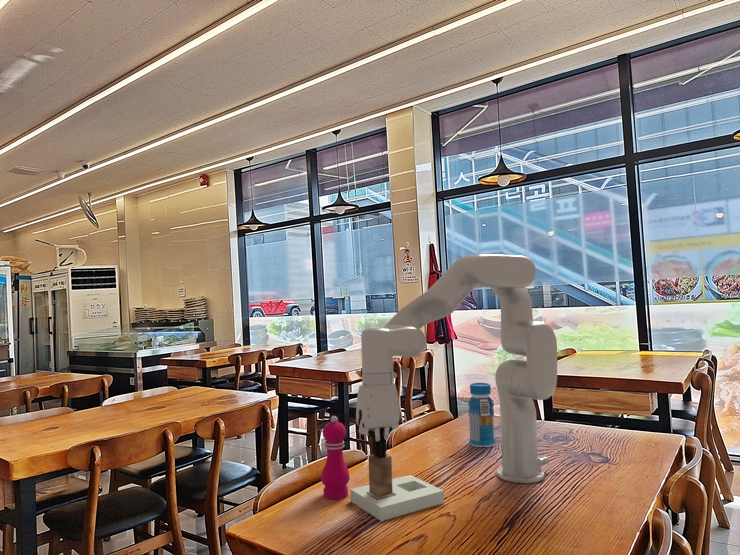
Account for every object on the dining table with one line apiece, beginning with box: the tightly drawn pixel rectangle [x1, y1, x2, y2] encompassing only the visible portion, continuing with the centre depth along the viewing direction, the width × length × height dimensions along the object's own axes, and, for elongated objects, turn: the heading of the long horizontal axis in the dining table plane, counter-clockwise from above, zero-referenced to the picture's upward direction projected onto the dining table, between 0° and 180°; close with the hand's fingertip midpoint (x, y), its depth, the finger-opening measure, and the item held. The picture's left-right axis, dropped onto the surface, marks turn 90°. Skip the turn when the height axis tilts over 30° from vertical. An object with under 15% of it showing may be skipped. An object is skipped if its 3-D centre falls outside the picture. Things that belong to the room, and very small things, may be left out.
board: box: [349, 474, 445, 522], centre depth 131 cm, size 18×14×3 cm
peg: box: [368, 453, 393, 500], centre depth 129 cm, size 4×4×12 cm
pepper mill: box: [320, 415, 350, 500], centre depth 137 cm, size 7×7×20 cm
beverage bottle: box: [467, 382, 496, 448], centre depth 179 cm, size 8×8×20 cm
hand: (379, 455), depth 129 cm, fingers closed
